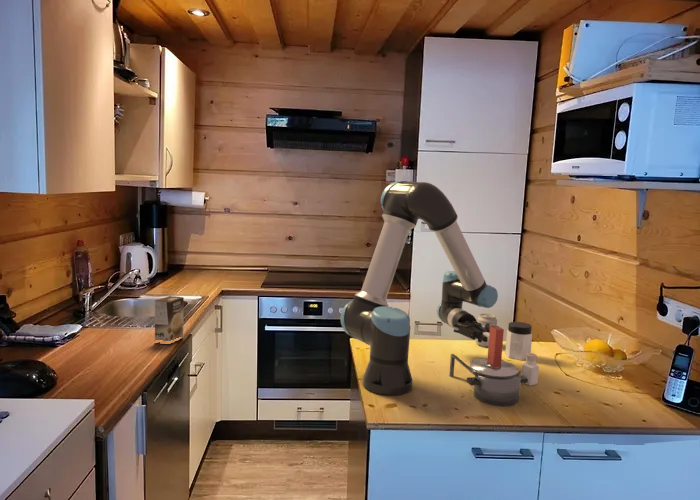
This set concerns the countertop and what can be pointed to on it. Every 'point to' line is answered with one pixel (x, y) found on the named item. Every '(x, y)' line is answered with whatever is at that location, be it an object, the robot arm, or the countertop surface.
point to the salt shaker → (530, 369)
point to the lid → (494, 358)
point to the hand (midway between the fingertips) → (494, 342)
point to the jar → (518, 340)
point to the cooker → (493, 386)
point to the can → (484, 320)
